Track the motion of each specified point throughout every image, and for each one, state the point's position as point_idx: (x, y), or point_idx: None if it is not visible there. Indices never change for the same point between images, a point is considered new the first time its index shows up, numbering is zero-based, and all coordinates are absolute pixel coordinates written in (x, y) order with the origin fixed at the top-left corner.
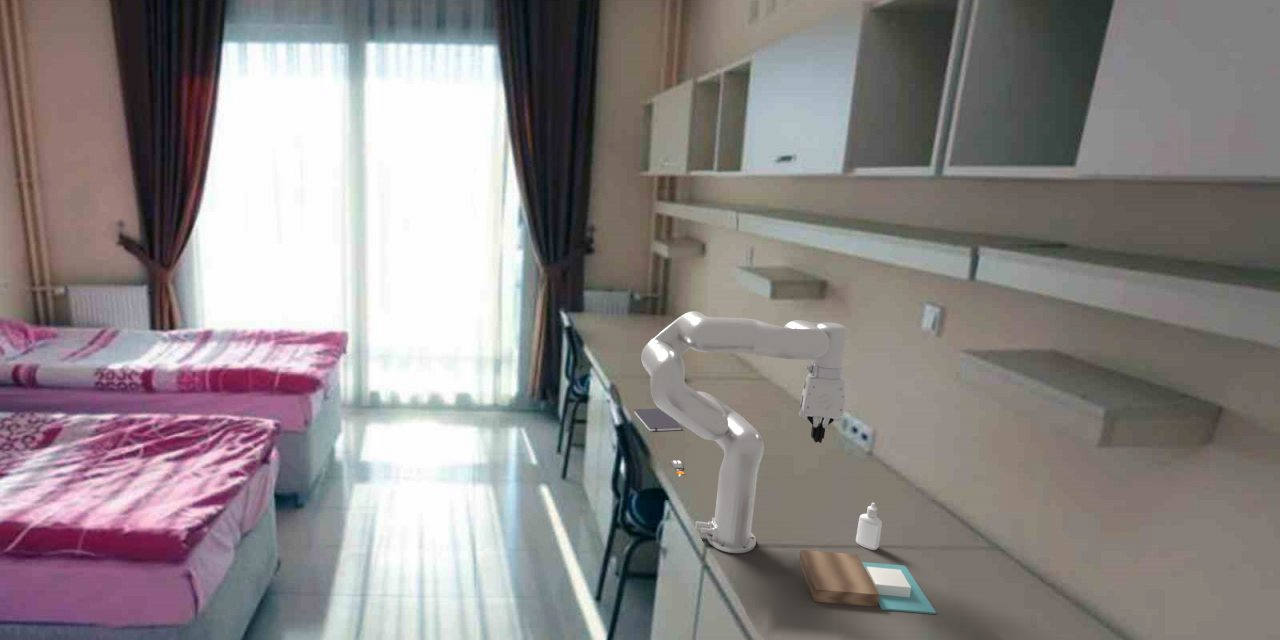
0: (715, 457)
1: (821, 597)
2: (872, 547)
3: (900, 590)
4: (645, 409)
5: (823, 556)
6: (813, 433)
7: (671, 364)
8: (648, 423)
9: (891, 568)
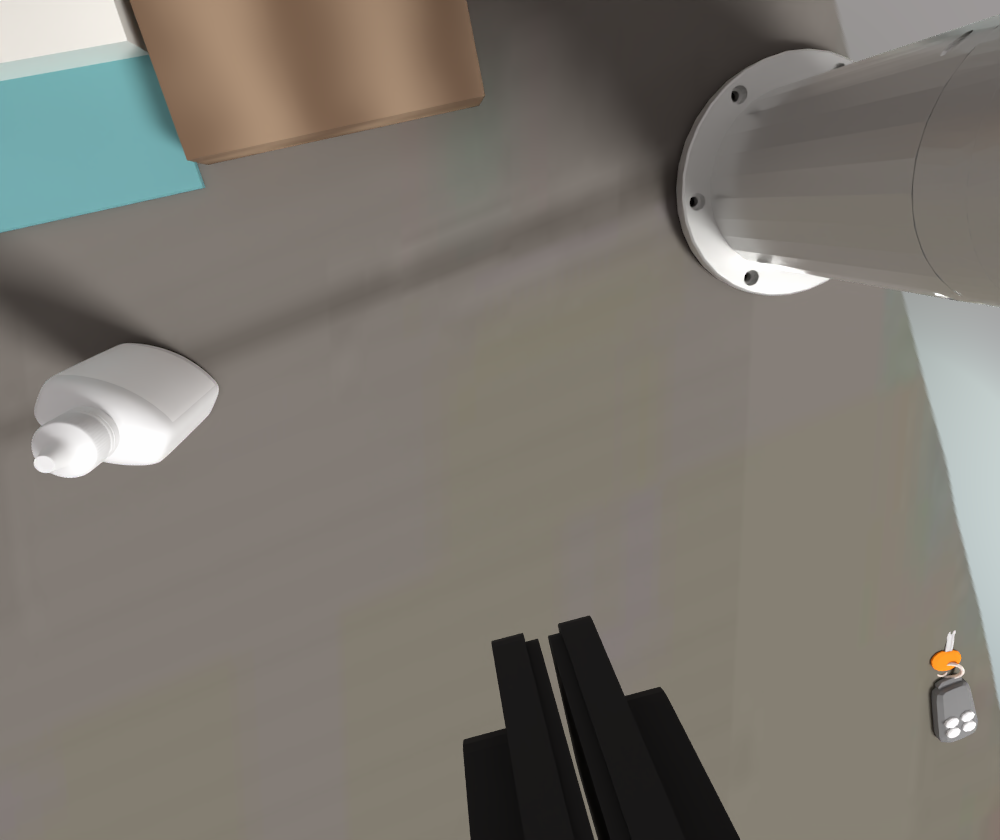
0: (802, 828)
1: None
2: (132, 344)
3: None
4: None
5: (363, 66)
6: (679, 746)
7: None
8: None
9: (25, 185)
